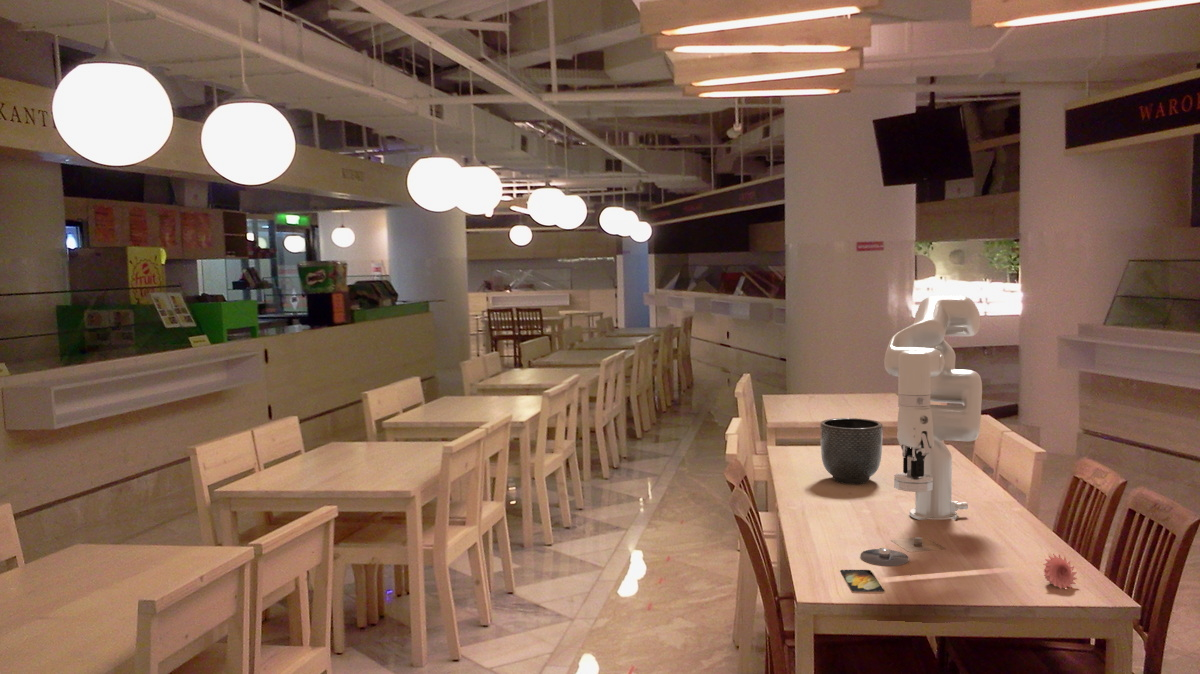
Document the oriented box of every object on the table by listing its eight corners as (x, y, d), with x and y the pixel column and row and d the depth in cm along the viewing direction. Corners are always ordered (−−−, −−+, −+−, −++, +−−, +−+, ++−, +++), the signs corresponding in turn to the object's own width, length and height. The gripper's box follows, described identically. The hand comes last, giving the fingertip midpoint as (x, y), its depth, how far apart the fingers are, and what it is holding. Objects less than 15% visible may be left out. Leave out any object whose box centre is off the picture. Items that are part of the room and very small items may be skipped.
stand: (926, 541, 242) (926, 531, 241) (946, 552, 232) (947, 542, 232) (890, 543, 240) (890, 533, 240) (909, 555, 230) (909, 545, 230)
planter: (859, 471, 319) (859, 416, 318) (895, 484, 301) (895, 425, 299) (808, 476, 313) (808, 420, 312) (841, 490, 295) (841, 430, 293)
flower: (1036, 552, 213) (1050, 545, 208) (1069, 566, 212) (1084, 559, 207) (1032, 584, 209) (1046, 578, 204) (1065, 599, 208) (1081, 592, 203)
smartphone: (870, 569, 220) (885, 591, 206) (870, 572, 220) (885, 594, 206) (839, 569, 221) (852, 591, 206) (839, 572, 221) (852, 594, 206)
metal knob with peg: (920, 482, 238) (921, 452, 237) (939, 490, 229) (940, 459, 228) (887, 484, 236) (888, 453, 236) (905, 492, 227) (905, 461, 227)
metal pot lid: (894, 553, 232) (894, 541, 232) (916, 567, 221) (917, 555, 221) (852, 556, 230) (853, 544, 230) (873, 571, 220) (873, 558, 219)
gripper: (946, 405, 224) (945, 481, 225) (911, 396, 240) (910, 467, 241) (917, 406, 222) (916, 483, 224) (884, 397, 238) (883, 468, 240)
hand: (913, 474), depth 232 cm, fingers closed on metal knob with peg, 3 cm apart
